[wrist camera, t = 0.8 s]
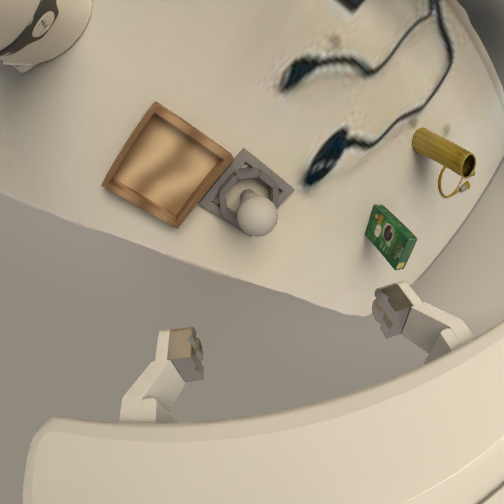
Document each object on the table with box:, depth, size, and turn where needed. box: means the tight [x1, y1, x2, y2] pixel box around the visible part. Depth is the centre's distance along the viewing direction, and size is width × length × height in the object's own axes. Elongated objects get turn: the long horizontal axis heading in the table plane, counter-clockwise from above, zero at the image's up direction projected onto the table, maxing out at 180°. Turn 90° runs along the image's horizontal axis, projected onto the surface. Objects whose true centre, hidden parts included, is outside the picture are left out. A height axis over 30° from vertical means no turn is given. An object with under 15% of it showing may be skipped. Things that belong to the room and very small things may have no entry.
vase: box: [413, 128, 476, 179], centre depth 42 cm, size 6×6×14 cm
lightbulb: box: [237, 190, 278, 236], centre depth 43 cm, size 6×6×11 cm
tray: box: [101, 102, 234, 229], centre depth 40 cm, size 15×15×3 cm
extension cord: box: [438, 166, 475, 198], centre depth 55 cm, size 12×16×2 cm
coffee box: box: [365, 205, 418, 270], centre depth 52 cm, size 8×3×13 cm, turn 176°
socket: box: [199, 148, 294, 237], centre depth 46 cm, size 12×12×2 cm
